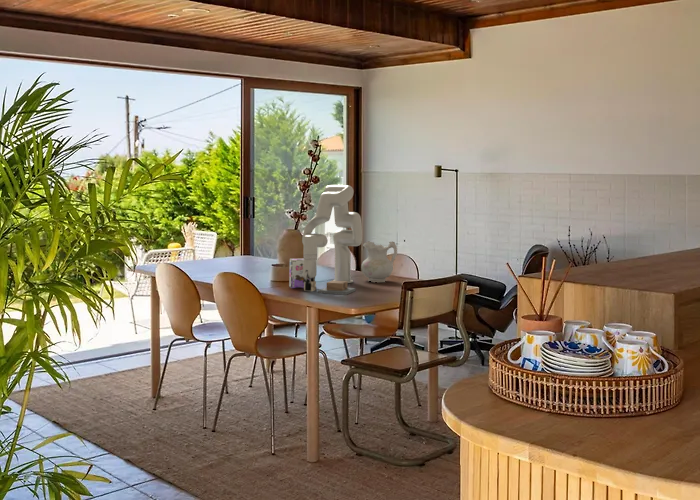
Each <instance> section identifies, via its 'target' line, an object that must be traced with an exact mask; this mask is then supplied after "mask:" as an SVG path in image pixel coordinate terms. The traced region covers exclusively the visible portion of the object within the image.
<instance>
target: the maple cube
mask: <svg viewBox="0 0 700 500" xmlns="http://www.w3.org/2000/svg"><path fill="white" fill-rule="evenodd" d="M310 283H311V291H310V292H314V291H317V281H316V280H315V281H310ZM303 291H305V292H308V291H307V290H305V282H304V288H303Z"/></svg>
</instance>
